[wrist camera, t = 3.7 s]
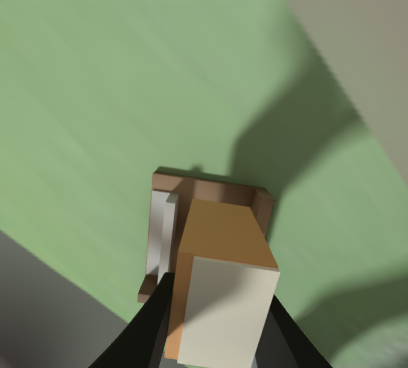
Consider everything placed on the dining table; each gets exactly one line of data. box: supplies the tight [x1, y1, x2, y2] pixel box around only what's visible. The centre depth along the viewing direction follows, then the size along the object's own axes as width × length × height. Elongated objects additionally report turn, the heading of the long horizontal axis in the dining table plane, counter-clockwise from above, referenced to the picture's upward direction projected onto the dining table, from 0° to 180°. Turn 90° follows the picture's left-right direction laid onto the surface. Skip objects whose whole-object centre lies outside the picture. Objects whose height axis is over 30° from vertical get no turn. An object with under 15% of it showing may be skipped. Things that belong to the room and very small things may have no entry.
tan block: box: [165, 199, 280, 368], centre depth 11 cm, size 6×4×6 cm
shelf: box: [138, 172, 275, 303], centre depth 18 cm, size 12×10×3 cm
